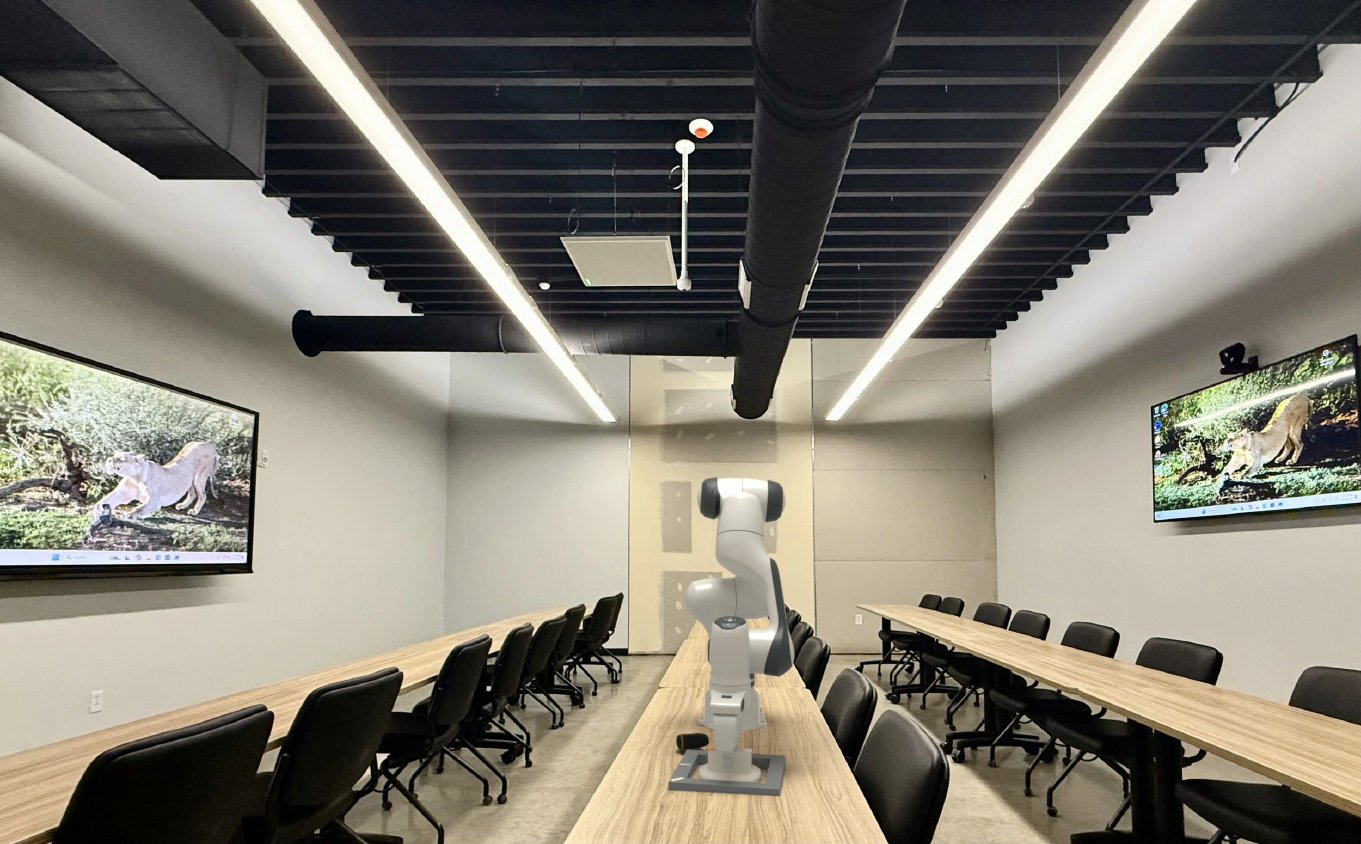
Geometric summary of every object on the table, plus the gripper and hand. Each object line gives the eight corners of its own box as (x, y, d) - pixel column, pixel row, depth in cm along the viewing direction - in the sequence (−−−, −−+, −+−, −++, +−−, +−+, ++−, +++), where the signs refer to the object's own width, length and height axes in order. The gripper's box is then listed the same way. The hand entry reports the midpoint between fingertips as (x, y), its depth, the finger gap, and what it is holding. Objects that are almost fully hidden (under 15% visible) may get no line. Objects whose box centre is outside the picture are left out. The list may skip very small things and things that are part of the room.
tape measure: (711, 749, 190) (709, 731, 191) (683, 752, 188) (682, 735, 189) (699, 748, 196) (698, 731, 197) (672, 752, 194) (671, 735, 195)
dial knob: (763, 770, 178) (763, 740, 179) (758, 790, 165) (758, 759, 166) (703, 766, 180) (703, 737, 181) (694, 786, 167) (694, 755, 168)
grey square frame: (687, 761, 185) (687, 748, 186) (785, 767, 181) (785, 754, 182) (668, 795, 164) (668, 781, 164) (779, 802, 160) (779, 788, 160)
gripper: (721, 684, 185) (721, 748, 184) (708, 706, 165) (708, 778, 164) (749, 685, 184) (749, 749, 183) (739, 708, 164) (739, 780, 163)
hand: (729, 763), depth 173 cm, fingers open, 4 cm apart
